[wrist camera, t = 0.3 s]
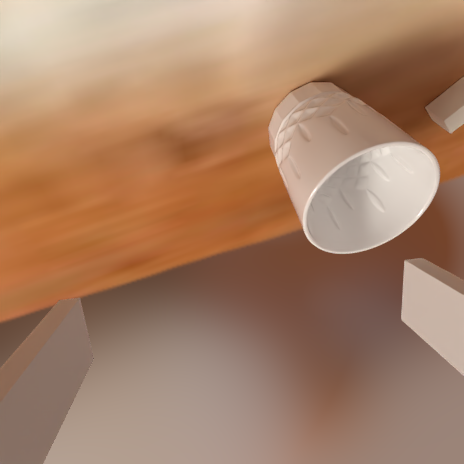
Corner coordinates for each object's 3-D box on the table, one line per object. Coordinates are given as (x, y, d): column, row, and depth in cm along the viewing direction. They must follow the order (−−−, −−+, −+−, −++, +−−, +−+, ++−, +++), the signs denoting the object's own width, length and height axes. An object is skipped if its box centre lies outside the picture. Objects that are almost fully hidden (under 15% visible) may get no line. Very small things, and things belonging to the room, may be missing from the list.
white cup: (379, 100, 26) (469, 173, 19) (316, 180, 30) (369, 264, 23) (300, 50, 22) (372, 116, 15) (241, 149, 26) (276, 237, 19)
